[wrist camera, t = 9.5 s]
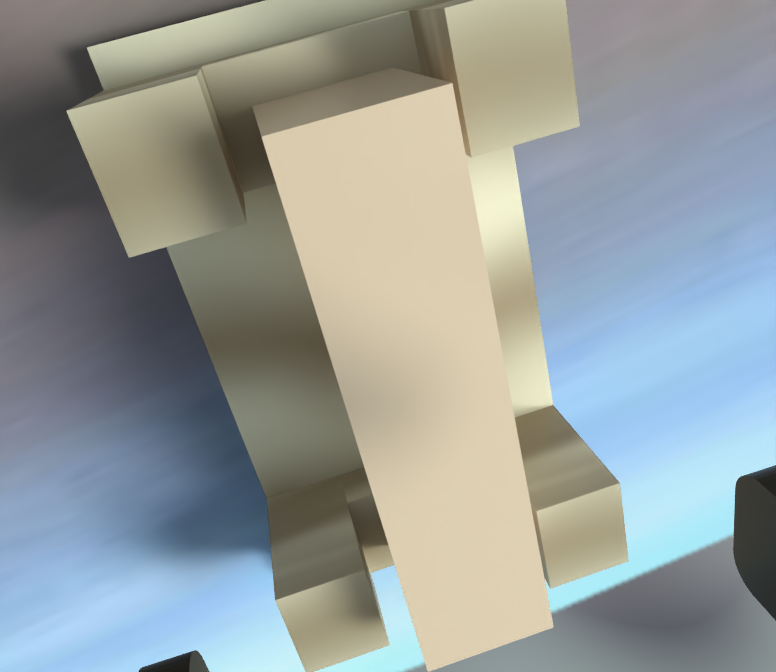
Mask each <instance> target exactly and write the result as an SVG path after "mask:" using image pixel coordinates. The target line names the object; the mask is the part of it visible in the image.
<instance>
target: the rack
mask: <svg viewBox="0 0 776 672" xmlns="http://www.w3.org/2000/svg"><path fill="white" fill-rule="evenodd" d="M87 50H88V52H89V55H90V57H91V60H92V62H93V65H94V67H95V70H96V72H97V75H98V77H99V80H100V82H101V85H102V87H103V90H104V91H102V92H100V93H98V94H96V95H94V96H93V97H91V98H89V99H87V100H85V101H83V102H82V103H80V104H78V105H76V106H74V107H72V108H71V109H69V110H67V114H68V116H69V118H70V121H71V123H72V125H73V128H74V130H75V132H76V135H77V137H78V139H79V142H80V144H81V147H82V149H83V151H84V154H85V156H86V158H87V161H88V163H89V165H90V168H91V170H92V172H93V175H94V177H95V179H96V182H97V184H98V186H99V189H100V191H101V193H102V196H103V198H104V200H105V203H106V205H107V207H108V210H109V212H110V214H111V217H112V219H113V221H114V224H115V226H116V228H117V231H118V233H119V236H120V238H121V240H122V243H123V245H124V247H125V250H126V252H127V254H128V257H129V258H130V257H133V256H137V255H140V254H144V253H147V252H151V251H154V250H157V249H161V248H164V247H166V248H167V250H168V253H169V255H170V258H171V260H172V263H173V265H174V268H175V270H176V273H177V275H178V278H179V280H180V283H181V285H182V288H183V290H184V293H185V295H186V298H187V300H188V303H189V305H190V308H191V310H192V313H193V315H194V318H195V320H196V323H197V325H198V328H199V330H200V333H201V335H202V338H203V340H204V343H205V346H206V348H207V351H208V353H209V356H210V358H211V361H212V363H213V366H214V368H215V371H216V373H217V376H218V378H219V381H220V383H221V386H222V388H223V391H224V393H225V396H226V398H227V401H228V403H229V406H230V408H231V411H232V413H233V416H234V418H235V421H236V423H237V426H238V428H239V431H240V433H241V436H242V438H243V441H244V443H245V446H246V448H247V451H248V453H249V456H250V458H251V461H252V463H253V466H254V468H255V471H256V473H257V476H258V478H259V481H260V483H261V486H262V488H263V491H264V493H265V496H266V498H267V508H268V520H269V532H270V544H271V556H272V568H273V580H274V592H275V601H276V603H277V606H278V608H279V610H280V613H281V615H282V617H283V620H284V622H285V624H286V627H287V629H288V631H289V634H290V636H291V638H292V641H293V643H294V645H295V648H296V650H297V652H298V655H299V657H300V659H301V662H302V664H303V667H304V669H305V671H306V672H314V671H317V670H320V669H323V668H326V667H329V666H331V665H334V664H337V663H340V662H343V661H346V660H348V659H351V658H354V657H357V656H360V655H363V654H366V653H368V652H371V651H374V650H377V649H380V648H383V647H385V646H388V645H390V644H389V640H388V636H387V633H386V629H385V625H384V621H383V617H382V614H381V610H380V606H379V602H378V598H377V594H376V591H375V587H374V583H373V579H372V575H371V573H372V572H375V571H378V570H381V569H383V568H386V567H389V566H392V565H395V564H394V561H393V558H392V555H391V551H390V548H389V545H388V542H387V538H386V535H385V532H384V529H383V526H382V522H381V519H380V516H379V513H378V510H377V506H376V503H375V500H374V497H373V493H372V490H371V487H370V484H369V481H368V477H367V474H366V471H365V468H364V465H363V461H362V458H361V455H360V452H359V449H358V445H357V442H356V439H355V436H354V432H353V429H352V426H351V423H350V420H349V416H348V413H347V410H346V407H345V404H344V400H343V397H342V394H341V391H340V387H339V384H338V381H337V378H336V375H335V371H334V368H333V365H332V362H331V359H330V355H329V352H328V349H327V346H326V342H325V339H324V336H323V333H322V330H321V326H320V323H319V320H318V317H317V314H316V310H315V307H314V304H313V301H312V297H311V294H310V291H309V288H308V285H307V281H306V278H305V275H304V272H303V269H302V265H301V262H300V259H299V256H298V252H297V249H296V246H295V243H294V240H293V236H292V233H291V230H290V227H289V224H288V220H287V217H286V214H285V211H284V208H283V204H282V201H281V198H280V195H279V191H278V188H277V185H276V182H275V179H274V175H273V172H272V169H271V166H270V163H269V159H268V156H267V153H266V150H265V146H264V143H263V140H262V137H261V134H260V130H259V127H258V124H257V121H256V117H255V114H254V111H253V107H252V106H255V105H259V104H262V103H266V102H270V101H273V100H277V99H280V98H284V97H288V96H291V95H295V94H299V93H302V92H306V91H309V90H313V89H317V88H320V87H324V86H327V85H331V84H335V83H338V82H342V81H346V80H349V79H353V78H356V77H360V76H364V75H367V74H371V73H374V72H378V71H382V70H385V69H389V68H397V69H401V70H405V71H409V72H412V73H416V74H420V75H424V76H428V77H431V78H435V79H439V80H443V81H447V82H450V83H453V89H454V94H455V99H456V105H457V110H458V116H459V121H460V126H461V132H462V137H463V143H464V148H465V153H466V159H467V164H468V169H469V175H470V180H471V186H472V191H473V196H474V202H475V207H476V213H477V218H478V223H479V229H480V234H481V239H482V245H483V250H484V256H485V261H486V266H487V272H488V277H489V283H490V288H491V293H492V299H493V304H494V309H495V315H496V320H497V326H498V331H499V336H500V342H501V347H502V353H503V358H504V363H505V369H506V374H507V379H508V385H509V390H510V396H511V401H512V406H513V412H514V417H515V423H516V428H517V433H518V439H519V444H520V449H521V455H522V460H523V466H524V471H525V476H526V482H527V487H528V493H529V498H530V503H531V509H532V514H533V519H534V525H535V530H536V536H537V541H538V546H539V552H540V557H541V562H542V568H543V573H544V578H545V580H546V581H547V583H548V585H549V587H550V588H553V587H556V586H559V585H562V584H565V583H568V582H570V581H573V580H576V579H579V578H582V577H585V576H588V575H590V574H593V573H596V572H599V571H602V570H605V569H607V568H610V567H613V566H616V565H619V564H622V563H625V562H627V561H628V552H627V543H626V534H625V525H624V516H623V507H622V498H621V490H620V483H619V482H618V480H617V479H616V478H615V477H614V476H613V474H612V473H611V472H610V471H609V470H608V469H607V467H606V466H605V465H604V464H603V463H602V462H601V460H600V459H599V458H598V457H597V456H596V455H595V453H594V452H593V451H592V450H591V449H590V448H589V446H588V445H587V444H586V443H585V442H584V441H583V439H582V438H581V437H580V436H579V435H578V434H577V432H576V431H575V430H574V429H573V428H572V427H571V425H570V424H569V423H568V422H567V421H566V420H565V418H564V417H563V416H562V415H561V414H560V413H559V411H558V410H557V409H556V408H555V407H554V406H553V401H552V394H551V388H550V381H549V375H548V368H547V362H546V356H545V349H544V343H543V336H542V330H541V324H540V317H539V311H538V304H537V298H536V291H535V285H534V279H533V272H532V266H531V259H530V253H529V247H528V240H527V234H526V227H525V221H524V214H523V208H522V202H521V195H520V189H519V182H518V176H517V169H516V163H515V157H514V150H513V146H514V145H517V144H521V143H524V142H528V141H531V140H534V139H538V138H541V137H545V136H548V135H551V134H555V133H558V132H562V131H565V130H569V129H572V128H575V127H579V126H580V125H579V116H578V107H577V98H576V89H575V80H574V72H573V63H572V54H571V45H570V36H569V27H568V18H567V9H566V0H265V1H261V2H257V3H253V4H250V5H246V6H242V7H238V8H235V9H231V10H227V11H223V12H219V13H216V14H212V15H208V16H204V17H200V18H197V19H193V20H189V21H185V22H182V23H178V24H174V25H170V26H166V27H163V28H159V29H155V30H151V31H148V32H144V33H140V34H136V35H132V36H129V37H125V38H121V39H117V40H113V41H110V42H106V43H102V44H98V45H95V46H91V47H87Z"/></svg>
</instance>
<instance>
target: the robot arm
mask: <svg viewBox="0 0 776 672" xmlns="http://www.w3.org/2000/svg"><path fill="white" fill-rule="evenodd" d="M733 551H734V558H735V563H736V566H737V568H738V571H739V573H740V575H741V577H742V579H743V581H744V583H745V585H746V586H747V588H748V589H749V590H750V592H751V593H752V594H753V596H754V597H755V598H756V599H757V600H758V601H759V602H760V603H761V605H762V606H763V607H764V608H765V609H766V610H767V611H768V612H769V614H771V616H772V617H773V618H774V619H775V620H776V465H775V466H772V467H769V468H766V469H763V470H760V471H757V472H754V473H750V474H747V475H744V476H741V477H740V478H739V479H738V480H737V483H736V488H735V515H734V547H733ZM139 672H209V670H208V668H207V666H206V664H205V662H204V660H203V658H202V656H201V655H200V653H199V652H198V651H196V650H195V651H192V652H189V653H185V654H182V655H179V656H176V657H173V658H170V659H167V660H164V661H161V662H158V663H154V664H151V665H148V666H145V667H142V668H141V669H140V670H139Z"/></svg>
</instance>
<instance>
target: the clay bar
mask: <svg viewBox="0 0 776 672" xmlns="http://www.w3.org/2000/svg"><path fill="white" fill-rule="evenodd" d="M252 107H253V111H254V114H255V117H256V121H257V124H258V127H259V130H260V134H261V137H262V140H263V143H264V146H265V150H266V153H267V156H268V159H269V163H270V166H271V169H272V172H273V175H274V179H275V182H276V185H277V188H278V191H279V195H280V198H281V201H282V204H283V208H284V211H285V214H286V217H287V220H288V224H289V227H290V230H291V233H292V236H293V240H294V243H295V246H296V249H297V252H298V256H299V259H300V262H301V265H302V269H303V272H304V275H305V278H306V281H307V285H308V288H309V291H310V294H311V297H312V301H313V304H314V307H315V310H316V314H317V317H318V320H319V323H320V326H321V330H322V333H323V336H324V339H325V342H326V346H327V349H328V352H329V355H330V359H331V362H332V365H333V368H334V371H335V375H336V378H337V381H338V384H339V387H340V391H341V394H342V397H343V400H344V404H345V407H346V410H347V413H348V416H349V420H350V423H351V426H352V429H353V432H354V436H355V439H356V442H357V445H358V449H359V452H360V455H361V458H362V461H363V465H364V468H365V471H366V474H367V477H368V481H369V484H370V487H371V490H372V493H373V497H374V500H375V503H376V506H377V510H378V513H379V516H380V519H381V522H382V526H383V529H384V532H385V535H386V538H387V542H388V545H389V548H390V551H391V555H392V558H393V561H394V564H395V567H396V571H397V574H398V577H399V580H400V583H401V587H402V590H403V593H404V596H405V600H406V603H407V606H408V609H409V612H410V616H411V619H412V622H413V625H414V628H415V632H416V635H417V638H418V641H419V645H420V648H421V651H422V654H423V657H424V661H425V664H426V667H427V670H428V672H429V671H432V670H435V669H438V668H440V667H443V666H446V665H449V664H452V663H454V662H457V661H460V660H463V659H466V658H468V657H471V656H474V655H477V654H479V653H482V652H485V651H488V650H491V649H494V648H497V647H499V646H502V645H505V644H508V643H511V642H513V641H516V640H519V639H522V638H525V637H527V636H530V635H533V634H536V633H539V632H541V631H544V630H547V629H550V628H553V622H552V616H551V611H550V606H549V600H548V595H547V589H546V584H545V579H544V573H543V568H542V562H541V557H540V552H539V546H538V541H537V536H536V530H535V525H534V519H533V514H532V509H531V503H530V498H529V493H528V487H527V482H526V476H525V471H524V466H523V460H522V455H521V449H520V444H519V439H518V433H517V428H516V423H515V417H514V412H513V406H512V401H511V396H510V390H509V385H508V379H507V374H506V369H505V363H504V358H503V353H502V347H501V342H500V336H499V331H498V326H497V320H496V315H495V309H494V304H493V299H492V293H491V288H490V283H489V277H488V272H487V266H486V261H485V256H484V250H483V245H482V239H481V234H480V229H479V223H478V218H477V213H476V207H475V202H474V196H473V191H472V186H471V180H470V175H469V169H468V164H467V159H466V153H465V148H464V143H463V137H462V132H461V126H460V121H459V116H458V110H457V105H456V99H455V94H454V89H453V83H450V82H447V81H443V80H439V79H435V78H431V77H428V76H424V75H420V74H416V73H412V72H409V71H405V70H401V69H397V68H389V69H385V70H382V71H378V72H374V73H371V74H367V75H364V76H360V77H356V78H353V79H349V80H346V81H342V82H338V83H335V84H331V85H327V86H324V87H320V88H317V89H313V90H309V91H306V92H302V93H299V94H295V95H291V96H288V97H284V98H280V99H277V100H273V101H270V102H266V103H262V104H259V105H255V106H252Z"/></svg>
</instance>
